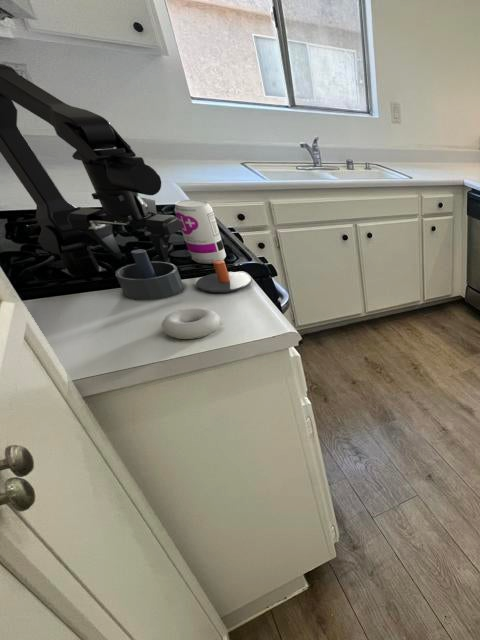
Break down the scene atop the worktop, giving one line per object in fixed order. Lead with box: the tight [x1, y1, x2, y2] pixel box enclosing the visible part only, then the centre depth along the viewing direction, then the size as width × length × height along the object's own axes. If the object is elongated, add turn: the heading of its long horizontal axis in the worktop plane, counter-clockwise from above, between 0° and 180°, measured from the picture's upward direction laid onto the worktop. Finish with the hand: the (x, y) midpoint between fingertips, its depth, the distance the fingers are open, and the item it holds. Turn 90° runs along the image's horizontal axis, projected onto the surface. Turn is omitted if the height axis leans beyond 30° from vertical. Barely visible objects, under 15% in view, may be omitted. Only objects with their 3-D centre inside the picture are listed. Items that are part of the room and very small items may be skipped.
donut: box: [161, 307, 221, 340], centre depth 86 cm, size 10×4×10 cm
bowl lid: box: [196, 260, 253, 293], centre depth 103 cm, size 12×12×6 cm
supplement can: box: [174, 199, 227, 265], centre depth 111 cm, size 8×8×15 cm
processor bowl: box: [114, 260, 185, 301], centre depth 97 cm, size 11×11×5 cm
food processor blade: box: [130, 248, 156, 279], centre depth 96 cm, size 7×4×9 cm, turn 7°
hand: (142, 260), depth 94 cm, fingers open, 9 cm apart
